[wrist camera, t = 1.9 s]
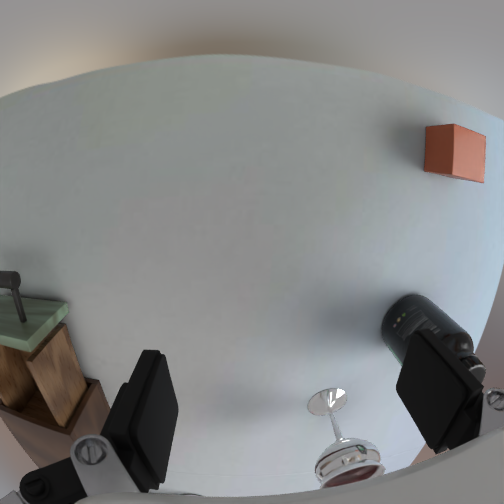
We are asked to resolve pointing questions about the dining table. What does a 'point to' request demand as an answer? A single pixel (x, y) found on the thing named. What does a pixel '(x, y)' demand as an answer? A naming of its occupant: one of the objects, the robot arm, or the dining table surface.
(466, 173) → the block
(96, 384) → the cabinet
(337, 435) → the wineglass
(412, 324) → the supplement bottle
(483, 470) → the robot arm
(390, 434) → the dining table surface
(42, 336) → the drawer
